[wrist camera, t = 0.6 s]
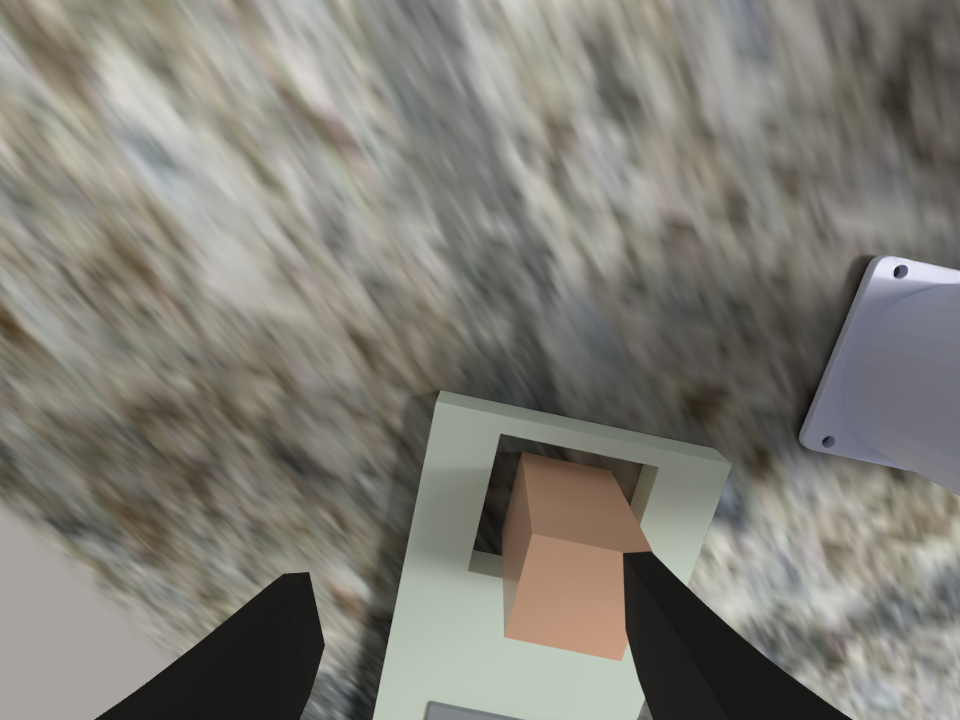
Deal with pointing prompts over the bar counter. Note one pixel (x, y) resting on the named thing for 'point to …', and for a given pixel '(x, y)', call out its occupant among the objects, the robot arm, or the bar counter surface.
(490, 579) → the pocket board
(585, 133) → the bar counter surface
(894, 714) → the bar counter surface
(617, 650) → the terracotta block
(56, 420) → the bar counter surface
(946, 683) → the bar counter surface
